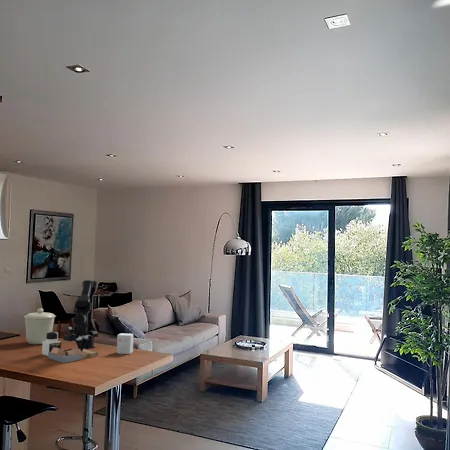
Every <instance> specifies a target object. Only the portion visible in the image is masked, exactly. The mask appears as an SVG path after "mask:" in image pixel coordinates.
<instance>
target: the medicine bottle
mask: <svg viewBox="0 0 450 450" xmlns="http://www.w3.org/2000/svg"><path fill="white" fill-rule="evenodd" d="M46 340H47V341H43V344H41V345H42V346H41V347H42V348H41V355H42V356H46V357H48V352H51V351H52V349H53V348H54V347H55V348H59V349H61V350H62V341H60V340H59V333H58V331H52V332H49V333H47V334H46Z"/></svg>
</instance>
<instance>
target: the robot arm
mask: <svg viewBox="0 0 450 450" xmlns="http://www.w3.org/2000/svg"><path fill="white" fill-rule="evenodd" d="M98 287H99V282H98V281H96V280H90V279H89V280H88V279H85V280H83V281H81V288H82V290H81V294H80V296H78V297H77V299H76V301H75V303H74V308H73V313H74V314H76V315H74V317H73V324H74V327H72V326H67V327H66V334H64V335H63V341H66V342H75V343H76V346H77V348H79V349H80V350H81V352H82V351H83V349H87V350H90V349H94V348H96V346H95V345H94V344H95V343H94V341H95V338H98V337H99V332H98V331H97V329H96V325H95V324H96V323H95V322H94V320H93V312H94V311H93V310H94V308H93V307H94V295H95V293H97V289H99V288H98Z"/></svg>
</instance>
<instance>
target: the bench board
mask: <svg viewBox="0 0 450 450" xmlns="http://www.w3.org/2000/svg"><path fill="white" fill-rule="evenodd" d="M70 351H71V350H65V353H66V354H65V355H68V354H67V353H68V352H70ZM94 356H95V357H98V356H99V352H98V351H94V350H90V349H85V348H84V349H83V351H82V355H81V360H83V359H84V358H85V359H90V358H95V357H94ZM89 357H90V358H89Z"/></svg>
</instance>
